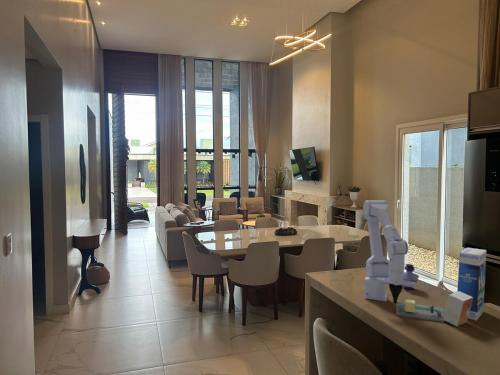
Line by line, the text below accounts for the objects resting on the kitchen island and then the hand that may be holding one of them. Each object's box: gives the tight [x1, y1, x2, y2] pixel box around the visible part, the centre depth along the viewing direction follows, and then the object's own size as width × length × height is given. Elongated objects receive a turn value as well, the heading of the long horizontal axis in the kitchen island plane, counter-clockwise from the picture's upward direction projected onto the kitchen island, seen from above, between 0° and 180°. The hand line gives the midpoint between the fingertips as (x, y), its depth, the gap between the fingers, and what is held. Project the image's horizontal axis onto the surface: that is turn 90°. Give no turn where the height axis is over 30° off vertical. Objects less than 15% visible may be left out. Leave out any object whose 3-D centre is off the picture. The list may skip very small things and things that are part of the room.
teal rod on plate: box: [395, 301, 446, 323], centre depth 145 cm, size 17×8×5 cm, turn 69°
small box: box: [443, 291, 473, 328], centre depth 138 cm, size 8×6×10 cm
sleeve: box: [404, 298, 416, 313], centre depth 146 cm, size 4×4×4 cm
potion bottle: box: [402, 263, 420, 291], centre depth 176 cm, size 9×9×12 cm
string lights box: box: [456, 247, 487, 321], centre depth 147 cm, size 13×8×26 cm, turn 137°
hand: (395, 302), depth 148 cm, fingers closed, pressing on teal rod on plate
